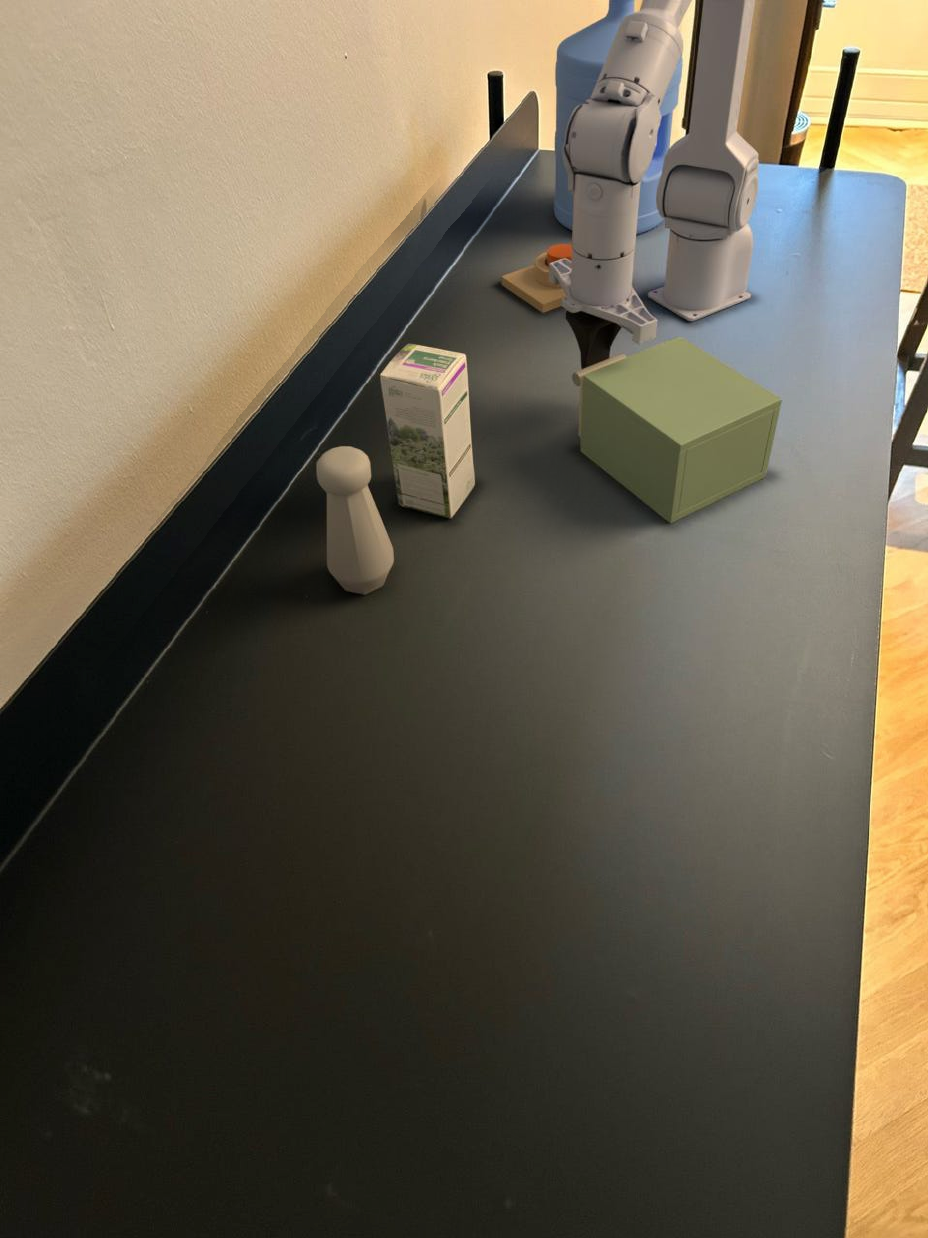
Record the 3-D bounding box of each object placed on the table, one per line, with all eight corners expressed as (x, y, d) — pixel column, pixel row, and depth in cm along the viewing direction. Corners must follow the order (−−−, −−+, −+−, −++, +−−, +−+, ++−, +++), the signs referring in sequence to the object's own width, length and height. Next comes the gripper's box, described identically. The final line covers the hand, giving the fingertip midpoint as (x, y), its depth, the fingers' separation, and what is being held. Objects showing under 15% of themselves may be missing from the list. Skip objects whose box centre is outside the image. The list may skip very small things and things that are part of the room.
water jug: (558, 243, 126) (561, -2, 106) (550, 195, 137) (551, -36, 117) (677, 236, 125) (702, -13, 105) (659, 188, 136) (679, -45, 116)
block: (578, 257, 123) (579, 234, 121) (622, 283, 117) (624, 260, 115) (501, 285, 119) (500, 261, 117) (542, 313, 113) (542, 289, 111)
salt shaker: (401, 556, 85) (384, 435, 75) (392, 602, 81) (372, 480, 72) (337, 555, 85) (312, 434, 76) (324, 600, 81) (297, 479, 72)
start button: (565, 254, 118) (565, 241, 117) (582, 265, 116) (583, 251, 115) (541, 263, 117) (541, 249, 116) (558, 273, 115) (558, 260, 113)
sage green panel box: (580, 451, 94) (582, 374, 88) (671, 411, 98) (679, 335, 92) (670, 523, 86) (680, 445, 80) (766, 476, 90) (782, 398, 83)
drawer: (553, 416, 97) (554, 356, 92) (633, 382, 100) (638, 323, 96) (659, 500, 87) (666, 438, 82) (745, 459, 90) (757, 397, 85)
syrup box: (477, 485, 91) (468, 349, 81) (450, 522, 88) (438, 385, 77) (424, 472, 93) (409, 338, 83) (396, 508, 90) (377, 373, 79)
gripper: (522, 227, 90) (523, 354, 100) (616, 290, 81) (606, 422, 91) (584, 207, 92) (578, 333, 102) (681, 266, 83) (665, 398, 93)
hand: (595, 374), depth 97 cm, fingers closed, pressing on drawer
